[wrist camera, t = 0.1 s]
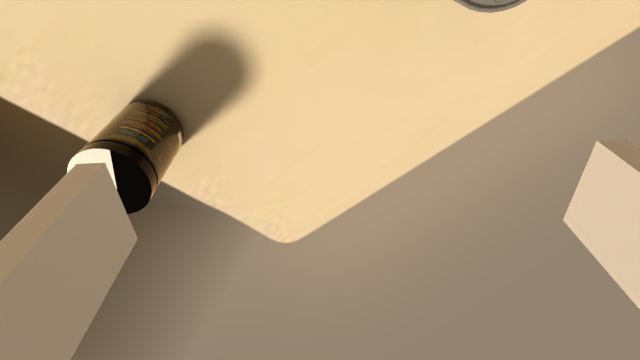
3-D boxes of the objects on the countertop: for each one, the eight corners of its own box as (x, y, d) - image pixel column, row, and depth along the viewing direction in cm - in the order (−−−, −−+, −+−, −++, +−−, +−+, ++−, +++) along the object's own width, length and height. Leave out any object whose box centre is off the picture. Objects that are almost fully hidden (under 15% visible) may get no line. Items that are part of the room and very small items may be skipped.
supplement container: (115, 93, 38) (58, 143, 29) (184, 102, 38) (148, 154, 30) (124, 150, 41) (75, 210, 33) (187, 158, 42) (155, 218, 33)
